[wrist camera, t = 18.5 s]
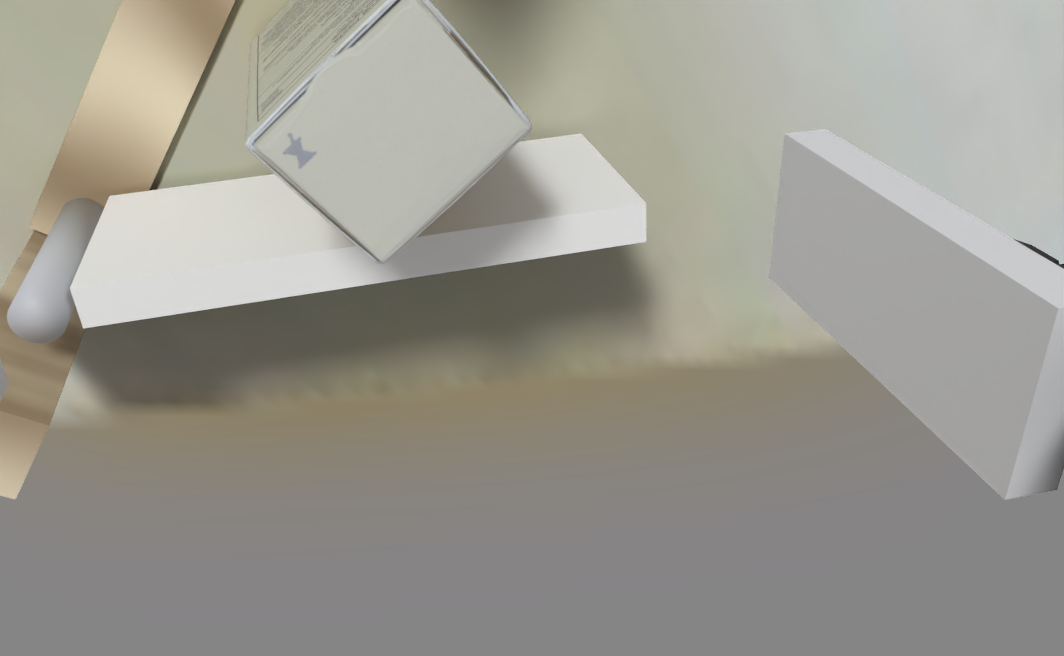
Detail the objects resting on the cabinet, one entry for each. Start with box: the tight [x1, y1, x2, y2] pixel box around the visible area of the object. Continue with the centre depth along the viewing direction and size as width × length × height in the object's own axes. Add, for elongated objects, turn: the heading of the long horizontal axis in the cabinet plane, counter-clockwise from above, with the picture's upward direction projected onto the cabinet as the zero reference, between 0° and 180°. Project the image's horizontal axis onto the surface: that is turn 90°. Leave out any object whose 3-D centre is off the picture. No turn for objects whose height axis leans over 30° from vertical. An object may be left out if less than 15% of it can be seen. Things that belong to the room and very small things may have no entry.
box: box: [245, 0, 532, 264], centre depth 25 cm, size 5×4×11 cm
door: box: [7, 134, 646, 343], centre depth 29 cm, size 17×2×7 cm, turn 94°
